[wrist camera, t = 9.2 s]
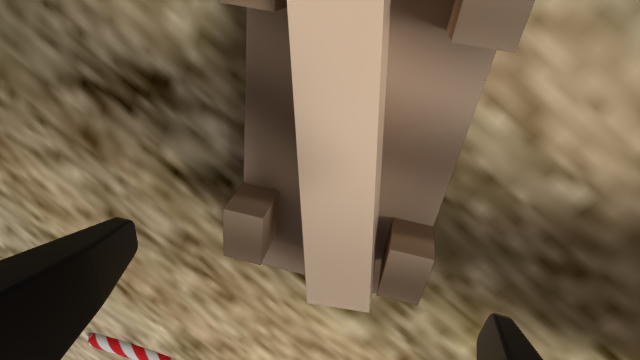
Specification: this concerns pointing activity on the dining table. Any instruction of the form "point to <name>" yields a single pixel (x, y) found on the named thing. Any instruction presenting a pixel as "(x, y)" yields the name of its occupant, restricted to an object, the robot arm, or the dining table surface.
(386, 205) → the tabbed beige plate
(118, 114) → the dining table surface
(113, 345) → the candy cane
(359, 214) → the clay strip
